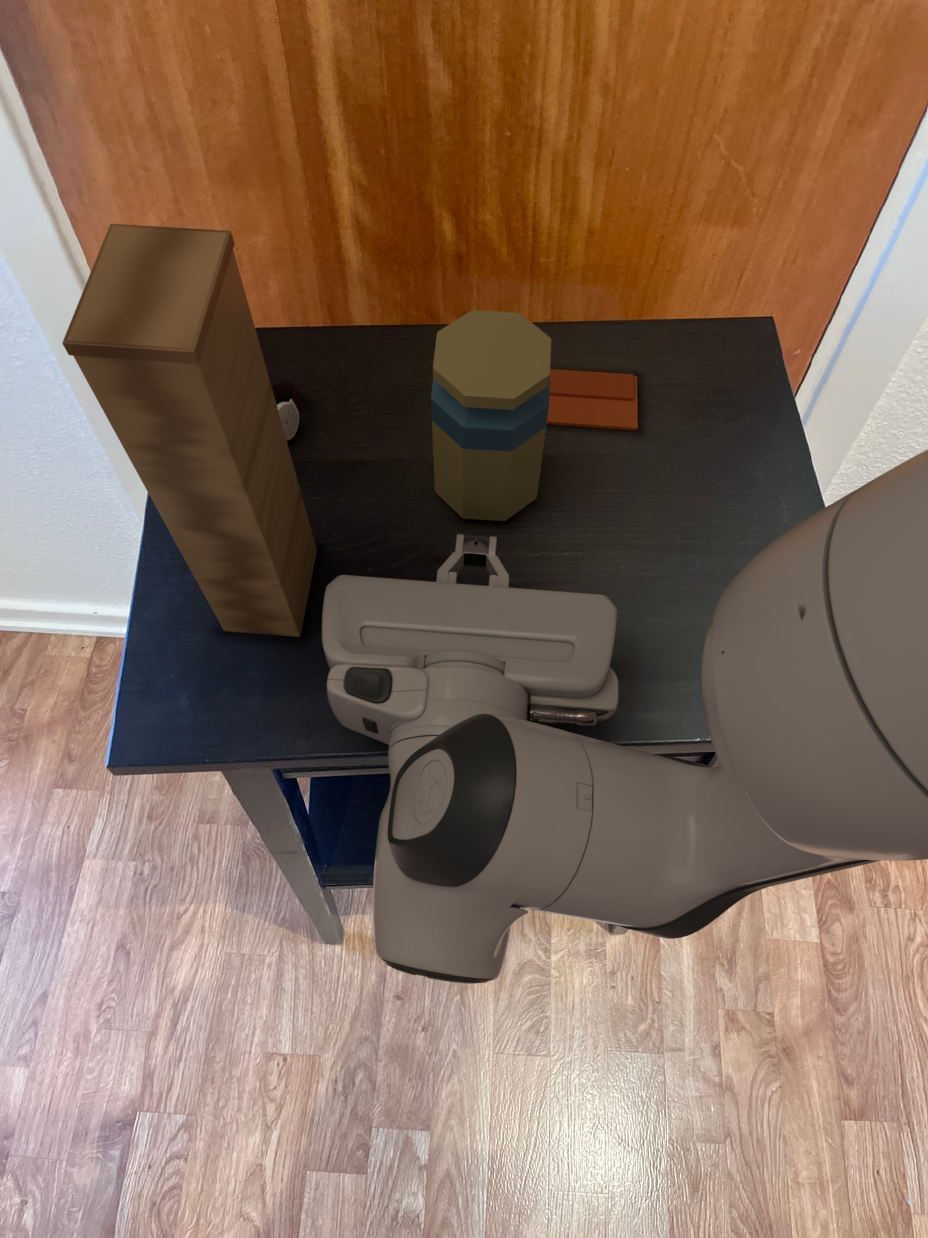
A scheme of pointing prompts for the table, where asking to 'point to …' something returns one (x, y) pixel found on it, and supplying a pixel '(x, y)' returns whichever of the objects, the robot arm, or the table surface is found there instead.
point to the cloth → (593, 400)
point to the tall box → (198, 417)
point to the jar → (489, 413)
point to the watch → (288, 406)
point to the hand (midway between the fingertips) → (476, 539)
